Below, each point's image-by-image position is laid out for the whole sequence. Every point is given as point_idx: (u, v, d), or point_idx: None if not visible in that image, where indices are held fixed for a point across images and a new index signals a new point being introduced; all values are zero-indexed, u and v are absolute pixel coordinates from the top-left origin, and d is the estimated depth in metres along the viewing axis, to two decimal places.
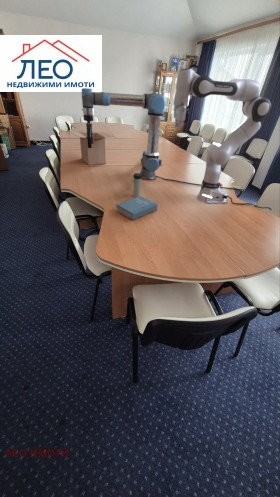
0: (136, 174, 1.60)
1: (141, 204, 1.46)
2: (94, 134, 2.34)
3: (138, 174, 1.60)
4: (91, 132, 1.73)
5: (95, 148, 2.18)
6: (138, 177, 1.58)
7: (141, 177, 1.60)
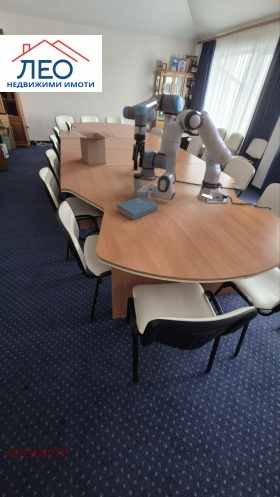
0: (136, 174, 1.60)
1: (141, 204, 1.46)
2: (94, 134, 2.34)
3: (138, 174, 1.60)
4: (142, 154, 1.55)
5: (95, 148, 2.18)
6: (138, 177, 1.58)
7: (141, 177, 1.60)
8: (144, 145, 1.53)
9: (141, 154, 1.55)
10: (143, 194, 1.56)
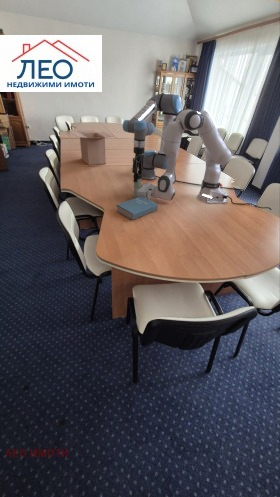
0: None
1: (141, 204, 1.46)
2: (94, 134, 2.34)
3: (138, 174, 1.60)
4: (140, 167, 1.59)
5: (95, 148, 2.18)
6: (138, 177, 1.58)
7: (141, 177, 1.60)
8: (143, 158, 1.58)
9: (140, 166, 1.59)
10: (143, 194, 1.56)
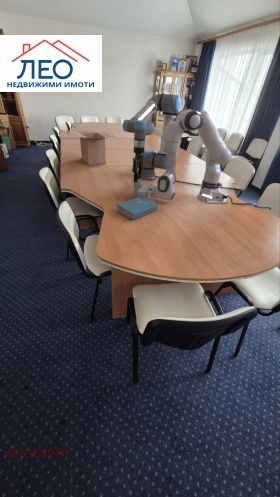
0: (138, 174, 1.59)
1: (141, 204, 1.46)
2: (94, 134, 2.34)
3: None
4: (140, 166, 1.59)
5: (95, 148, 2.18)
6: None
7: None
8: (143, 158, 1.58)
9: (140, 166, 1.59)
10: (143, 194, 1.56)
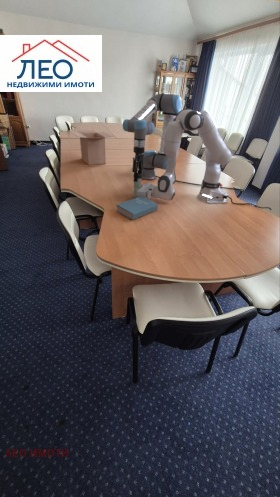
0: (138, 173, 1.61)
1: (141, 204, 1.46)
2: (94, 134, 2.34)
3: None
4: (140, 166, 1.59)
5: (95, 148, 2.18)
6: None
7: (133, 176, 1.60)
8: (143, 157, 1.58)
9: (140, 166, 1.59)
10: (143, 194, 1.56)
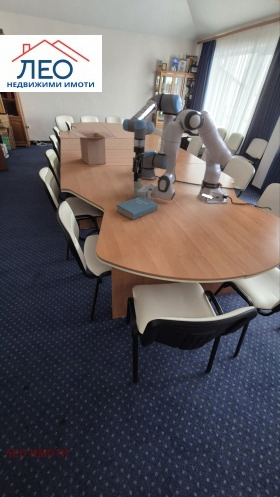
0: None
1: (141, 204, 1.46)
2: (94, 134, 2.34)
3: (138, 173, 1.60)
4: (140, 166, 1.59)
5: (95, 148, 2.18)
6: None
7: (140, 177, 1.59)
8: (143, 157, 1.58)
9: (140, 166, 1.59)
10: (143, 194, 1.56)
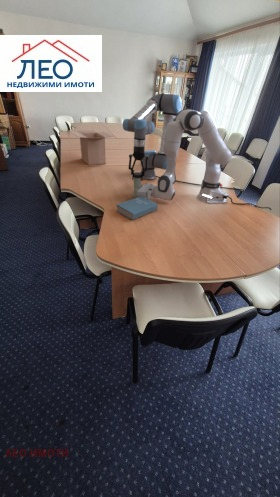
0: (138, 173, 1.59)
1: (141, 204, 1.46)
2: (94, 134, 2.34)
3: (137, 173, 1.60)
4: None
5: (95, 148, 2.18)
6: None
7: None
8: None
9: None
10: (143, 194, 1.56)
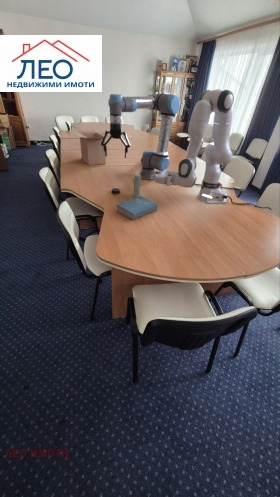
0: (116, 190, 1.70)
1: (141, 204, 1.46)
2: (94, 134, 2.34)
3: (115, 189, 1.71)
4: (107, 142, 1.52)
5: (95, 148, 2.18)
6: None
7: None
8: None
9: None
10: (162, 180, 1.45)
